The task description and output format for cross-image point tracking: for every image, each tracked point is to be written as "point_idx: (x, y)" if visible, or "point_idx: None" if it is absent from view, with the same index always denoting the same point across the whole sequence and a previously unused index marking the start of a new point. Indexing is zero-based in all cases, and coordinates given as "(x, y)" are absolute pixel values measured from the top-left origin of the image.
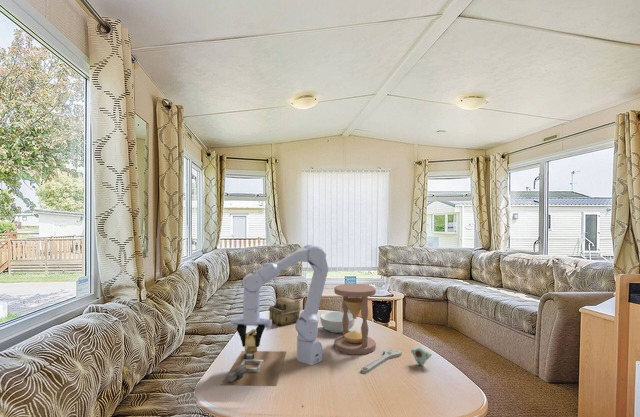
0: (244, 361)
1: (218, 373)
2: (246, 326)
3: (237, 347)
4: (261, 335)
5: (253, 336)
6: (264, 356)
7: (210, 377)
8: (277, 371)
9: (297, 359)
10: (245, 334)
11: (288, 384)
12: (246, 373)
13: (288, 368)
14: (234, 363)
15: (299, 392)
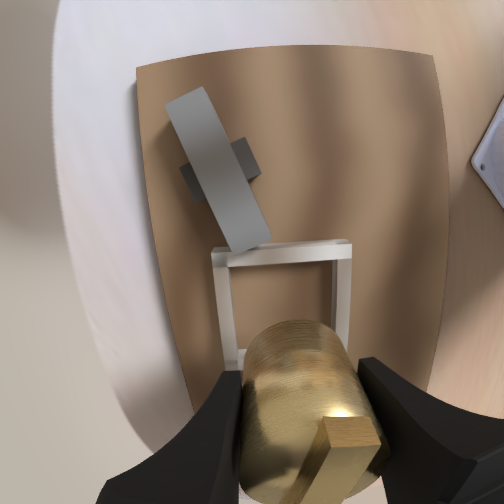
0: (229, 284)
1: (126, 338)
2: (213, 493)
3: (93, 4)
4: (427, 401)
5: (352, 494)
6: (324, 130)
7: (117, 372)
8: (427, 325)
9: (501, 179)
10: (247, 484)
11: (452, 374)
12: None
13: (461, 241)
14: (160, 266)
15: (471, 402)
